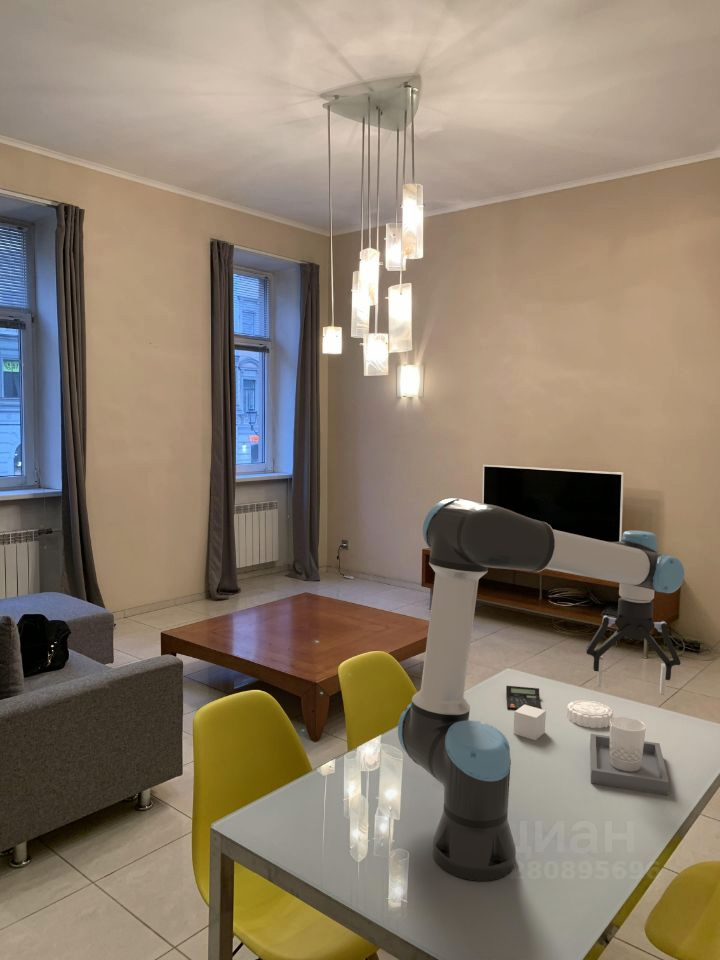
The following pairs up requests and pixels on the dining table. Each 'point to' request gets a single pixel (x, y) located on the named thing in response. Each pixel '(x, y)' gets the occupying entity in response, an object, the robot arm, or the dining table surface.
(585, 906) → the dining table surface
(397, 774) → the dining table surface
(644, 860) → the dining table surface
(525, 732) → the white cube
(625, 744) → the white cup
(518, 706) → the calculator
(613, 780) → the tray
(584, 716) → the mooncake
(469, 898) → the dining table surface
